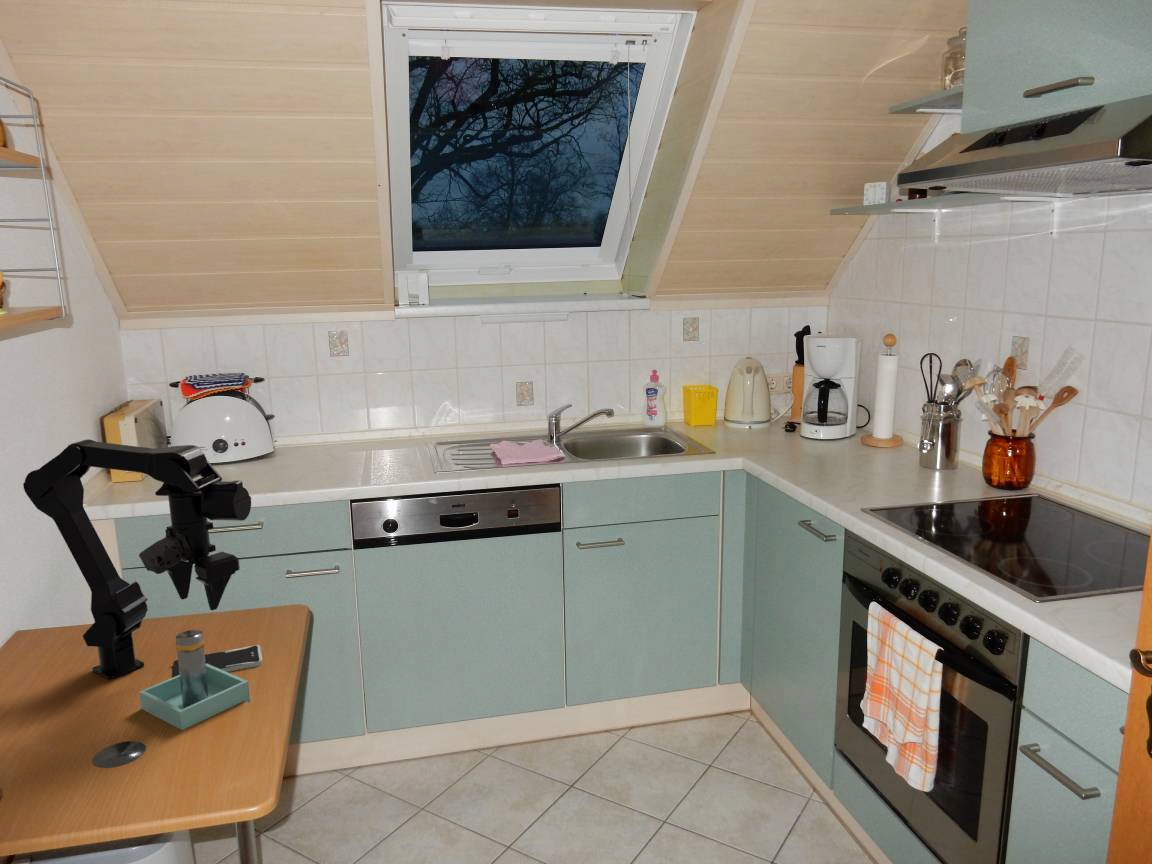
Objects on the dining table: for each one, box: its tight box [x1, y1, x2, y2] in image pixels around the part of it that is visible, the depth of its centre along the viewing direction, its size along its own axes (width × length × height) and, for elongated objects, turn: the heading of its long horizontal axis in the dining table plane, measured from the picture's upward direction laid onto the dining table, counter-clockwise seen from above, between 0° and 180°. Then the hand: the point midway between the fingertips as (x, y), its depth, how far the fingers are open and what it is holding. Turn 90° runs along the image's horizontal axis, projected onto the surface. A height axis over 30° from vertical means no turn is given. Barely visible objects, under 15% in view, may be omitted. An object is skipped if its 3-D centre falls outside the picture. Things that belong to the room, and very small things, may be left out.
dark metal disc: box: [92, 740, 147, 769], centre depth 128 cm, size 7×7×1 cm
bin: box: [138, 664, 251, 731], centre depth 142 cm, size 12×12×4 cm
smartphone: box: [171, 644, 264, 678], centre depth 157 cm, size 8×1×15 cm
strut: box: [175, 629, 209, 708], centre depth 141 cm, size 4×4×12 cm
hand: (198, 604), depth 152 cm, fingers open, 9 cm apart
